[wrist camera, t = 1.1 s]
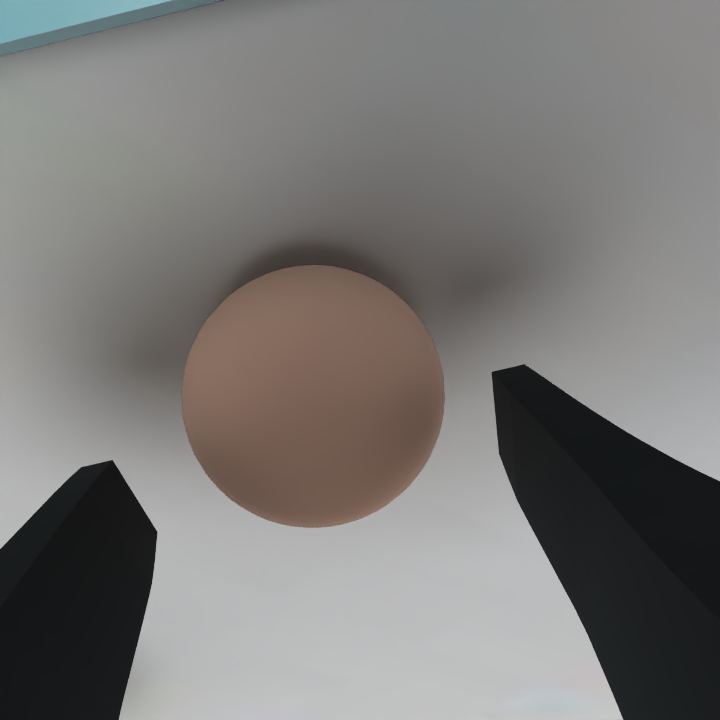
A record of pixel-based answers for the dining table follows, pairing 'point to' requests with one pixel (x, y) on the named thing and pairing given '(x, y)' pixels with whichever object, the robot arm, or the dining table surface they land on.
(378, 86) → the dining table surface
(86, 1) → the acrylic wall
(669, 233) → the dining table surface
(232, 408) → the ball
